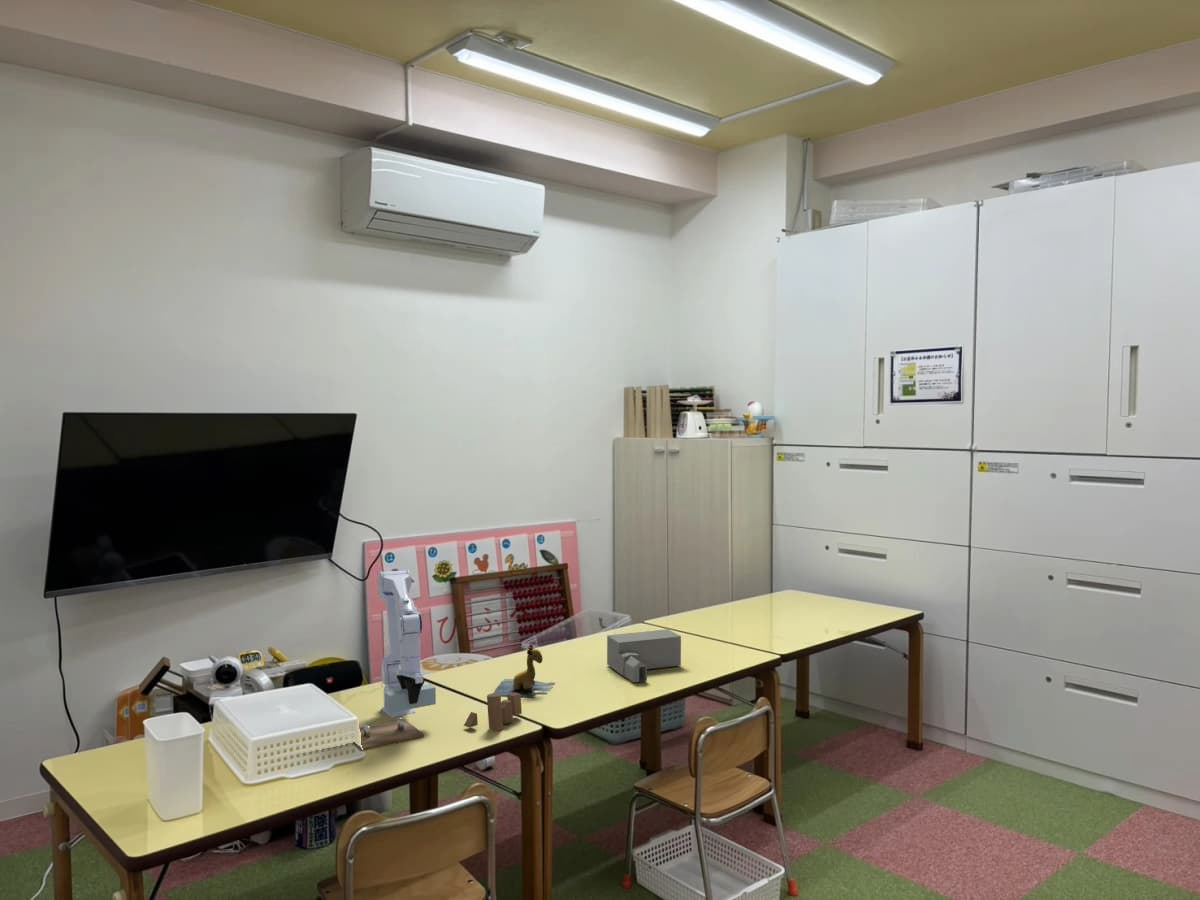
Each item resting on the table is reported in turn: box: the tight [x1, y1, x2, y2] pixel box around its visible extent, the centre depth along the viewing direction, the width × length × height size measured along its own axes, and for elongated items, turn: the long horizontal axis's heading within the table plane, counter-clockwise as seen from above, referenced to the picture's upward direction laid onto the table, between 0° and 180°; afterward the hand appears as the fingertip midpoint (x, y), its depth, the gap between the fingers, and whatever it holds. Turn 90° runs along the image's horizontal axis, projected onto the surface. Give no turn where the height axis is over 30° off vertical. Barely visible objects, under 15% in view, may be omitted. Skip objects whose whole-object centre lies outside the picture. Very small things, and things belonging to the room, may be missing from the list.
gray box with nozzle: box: [606, 628, 682, 683], centre depth 317 cm, size 25×23×11 cm
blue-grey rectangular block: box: [385, 683, 437, 713], centre depth 255 cm, size 14×4×5 cm, turn 124°
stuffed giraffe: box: [492, 644, 556, 699], centre depth 293 cm, size 16×18×16 cm
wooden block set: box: [463, 692, 523, 732], centre depth 259 cm, size 18×9×10 cm, turn 133°
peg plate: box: [359, 716, 425, 751], centre depth 251 cm, size 15×18×4 cm
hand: (410, 701), depth 255 cm, fingers closed on blue-grey rectangular block, 4 cm apart
